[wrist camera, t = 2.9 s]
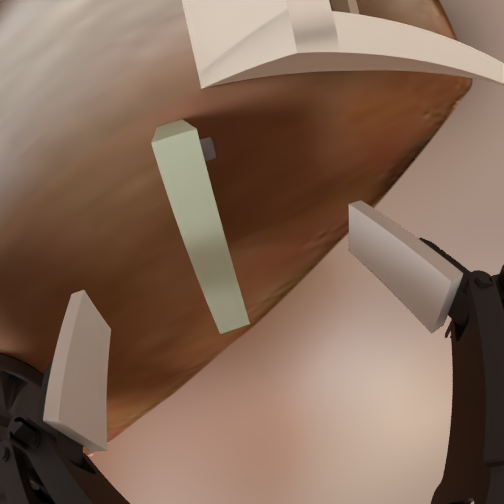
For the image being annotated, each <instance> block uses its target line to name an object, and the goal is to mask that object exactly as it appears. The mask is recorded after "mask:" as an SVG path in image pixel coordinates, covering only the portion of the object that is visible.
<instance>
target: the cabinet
mask: <svg viewBox="0 0 504 504" xmlns="http://www.w3.org/2000/svg"><path fill="white" fill-rule="evenodd" d="M330 2H331V6H332V10H333V11H332V10H331V6H330ZM330 2H329V0H182V3H183V8H184V13H185V17H186V22H187V26H188V31H189V35H190V40H191V44H192V49H193V53H194V57H195V62H196V66H197V71H198V75H199V79H200V84H201V88H202V89H203V88H207V87H211V86H216V85H221V84H225V83H230V82H236V81H241V80H247V79H253V78H260V77H267V76H275V75H284V74H293V73H305V72H322V71H362V70H396V71H417V72H430V73H439V74H448V75H455V76H462V77H468V78H474V79H479V80H485V81H489V82H493V83H498V84H502V85H504V63H502V62H500V61H499V60H497V59H495V58H493V57H491V56H489V55H487V54H485V53H483V52H480V51H479V50H476V49H474V48H472V47H470V46H467V45H465V44H463V43H460V42H458V41H455V40H453V39H450V38H448V37H445V36H442V35H439V34H436V33H434V32H430V31H427V30H424V29H421V28H417V27H414V26H410V25H407V24H403V23H399V22H395V21H391V20H386V19H381V18H376V17H371V16H365V15H360V14H359V10H358V6H357V2H356V0H330Z"/></svg>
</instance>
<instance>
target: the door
mask: <svg viewBox="0 0 504 504" xmlns="http://www.w3.org/2000/svg"><path fill="white" fill-rule="evenodd" d="M151 143H152V147H153V150H154V154H155V157H156V160H157V163H158V167H159V170H160V173H161V176H162V179H163V183H164V186H165V189H166V192H167V195H168V198H169V201H170V204H171V207H172V210H173V213H174V216H175V219H176V221H177V224H178V227H179V230H180V233H181V236H182V238H183V241H184V244H185V247H186V249H187V252H188V255H189V257H190V260H191V263H192V265H193V268H194V271H195V273H196V276H197V278H198V281H199V284H200V286H201V289H202V291H203V294H204V296H205V299H206V301H207V304H208V306H209V308H210V311H211V313H212V316H213V318H214V321H215V323H216V325H217V328H218V330H219V332H220V334H222V333H225V332H228V331H231V330H234V329H237V328H240V327H242V326H245V325H248V324H250V323H249V319H248V316H247V312H246V309H245V306H244V302H243V299H242V295H241V292H240V288H239V285H238V281H237V278H236V274H235V271H234V267H233V264H232V260H231V257H230V253H229V249H228V246H227V242H226V239H225V235H224V231H223V228H222V224H221V220H220V217H219V213H218V209H217V205H216V202H215V198H214V194H213V190H212V187H211V183H210V179H209V175H208V171H207V167H206V164H205V161H208V160H212V159H215V158H216V153H215V149H214V145H213V142H212V139H211V138H210V137H208V138H204V139H201V140H199V136H198V132H197V129H196V128H195V127H193V126H192V125H190V124H189V123H187V122H185V121H184V120H182V119H181V120H178V121H174V122H171V123H168V124H165V125H162V126H158V127H157V128H156V131H155V134H154V137H153V140H152V142H151Z"/></svg>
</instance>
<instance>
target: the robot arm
mask: <svg viewBox="0 0 504 504" xmlns="http://www.w3.org/2000/svg"><path fill="white" fill-rule="evenodd" d="M349 251H350V252H351V253H352V254H353V255H354V256H355V257H356V258H357V259H358V260H359V261H361V262H362V263H363V264H364V265H365V266H366V267H367V268H368V269H369V270H370V271H371V272H372V273H373V274H374V275H375V276H376V277H377V278H378V279H379V280H380V281H381V282H383V284H384V285H385V286H386V287H387V288H388V289H389V290H390V291H391V292H393V294H394V295H395V296H396V297H397V298H398V299H399V300H400V301H401V302H402V303H403V304H404V305H405V306H406V307H407V308H408V309H409V310H410V311H411V312H412V313H413V314H414V315H415V316H416V317H417V318H418V320H419V321H420V322H421V323H422V324H423V325H424V326H425V327H426V328H427V329H428V330H429V331H430V332H431V333H433V332H435V331H436V330H437V329H439V328H440V327H442V326H443V325H444V323H445V320H446V318H447V315H449V316H450V317H451V318H452V321H451V322H450V325H449V327H448V329H447V331H446V333H445V338H447V337H448V334H449V332H450V331H451V336H450V338H451V342H452V359H453V360H452V361H453V396H452V397H453V398H452V416H451V427H450V437H449V445H448V452H447V458H446V464H445V470H444V475H443V479H442V481H441V483H440V484H439V486H438V487H437V489H436V490H435V492H434V495H433V498H432V501H431V504H471V502H473V501H474V504H504V265H503V267H502V269H501V272H500V274H498V275H493V276H490V275H489V274H488V273H486V272H483V271H479V270H478V271H473V272H470V271H468V270H467V269H466V268H465V267H463V266H462V265H461V264H460V263H458V262H457V261H456V260H455V259H453V258H452V257H451V256H449V255H448V254H446V253H445V252H444V251H443V250H440V248H439V247H437V246H436V245H435V244H433V243H432V242H430V241H428V240H425V239H423V238H419V239H418V238H416V237H415V236H414V235H412V234H411V233H410V232H408V231H407V230H405V229H404V228H402V227H401V226H399V225H398V224H397V223H395V222H393V221H392V220H391V219H389V218H388V217H386V216H385V215H383V214H382V213H380V212H378V211H377V210H375V209H374V208H372V207H371V206H369V205H368V204H366V203H364V202H363V201H361V200H360V201H357V202H354V203H350V204H349ZM110 336H111V329H110V327H109V326H108V325H107V323H106V322H105V320H104V319H103V317H102V316H101V315H100V313H99V312H98V310H97V309H96V307H95V306H94V304H93V303H92V301H91V300H90V298H89V297H88V295H87V293H86V292H85V290H81V291H78V292H76V293H73V294H72V295H71V298H70V301H69V304H68V307H67V310H66V313H65V316H64V320H63V323H62V327H61V330H60V334H59V338H58V342H57V346H56V350H55V354H54V358H53V363H49V365H48V367H47V369H46V371H45V373H44V375H42V374H41V373H40V372H38V371H37V370H35V369H34V368H32V367H30V366H29V365H27V364H25V363H23V362H21V361H19V360H16V359H14V358H11V357H9V356H5V355H1V354H0V504H130V503H129V502H128V501H127V500H126V499H125V498H124V497H123V496H122V495H121V494H120V493H119V492H118V491H117V490H116V489H115V488H114V487H113V486H112V485H111V483H110V482H109V481H108V480H107V479H106V478H105V477H104V475H103V474H102V473H101V472H100V471H99V470H98V468H97V467H96V466H95V465H94V464H93V462H92V461H91V460H90V459H89V457H88V456H87V455H86V454H84V453H83V447H85V448H87V449H89V450H91V451H107V430H106V397H107V372H108V357H109V346H110Z"/></svg>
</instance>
